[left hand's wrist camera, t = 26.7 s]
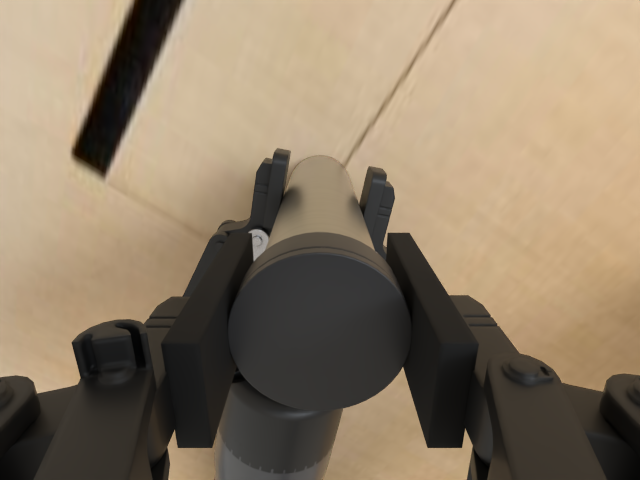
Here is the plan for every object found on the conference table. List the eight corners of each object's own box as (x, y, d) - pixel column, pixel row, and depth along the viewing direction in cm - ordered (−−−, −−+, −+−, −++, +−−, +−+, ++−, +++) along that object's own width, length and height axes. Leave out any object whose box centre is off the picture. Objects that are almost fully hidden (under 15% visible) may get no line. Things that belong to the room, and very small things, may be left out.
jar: (341, 222, 28) (367, 388, 12) (282, 207, 27) (234, 359, 12) (358, 164, 26) (413, 269, 11) (297, 148, 26) (264, 231, 10)
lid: (434, 303, 12) (451, 334, 10) (323, 399, 13) (324, 438, 11) (315, 195, 11) (314, 212, 9) (205, 311, 12) (189, 342, 10)
